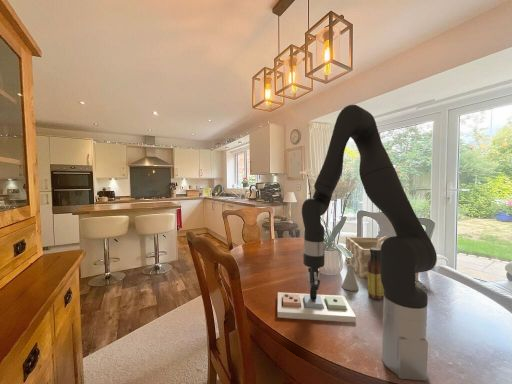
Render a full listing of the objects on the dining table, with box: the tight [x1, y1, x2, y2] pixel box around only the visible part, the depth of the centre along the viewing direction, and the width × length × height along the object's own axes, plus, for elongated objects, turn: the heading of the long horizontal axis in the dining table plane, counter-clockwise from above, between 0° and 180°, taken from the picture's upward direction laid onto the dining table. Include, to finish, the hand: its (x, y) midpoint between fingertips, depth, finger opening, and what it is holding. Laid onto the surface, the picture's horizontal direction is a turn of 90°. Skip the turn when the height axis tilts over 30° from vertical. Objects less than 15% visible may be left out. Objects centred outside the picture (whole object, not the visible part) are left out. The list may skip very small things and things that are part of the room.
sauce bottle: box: [367, 248, 384, 301], centre depth 92 cm, size 6×6×20 cm
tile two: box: [304, 295, 323, 309], centre depth 84 cm, size 6×6×3 cm
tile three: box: [282, 294, 301, 308], centre depth 84 cm, size 6×6×3 cm
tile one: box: [325, 296, 346, 310], centre depth 83 cm, size 6×6×3 cm
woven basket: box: [345, 236, 420, 281], centre depth 123 cm, size 26×26×14 cm
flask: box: [341, 264, 359, 292], centre depth 100 cm, size 7×7×10 cm
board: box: [277, 291, 357, 323], centre depth 84 cm, size 14×26×2 cm, turn 84°
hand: (313, 298), depth 84 cm, fingers closed
